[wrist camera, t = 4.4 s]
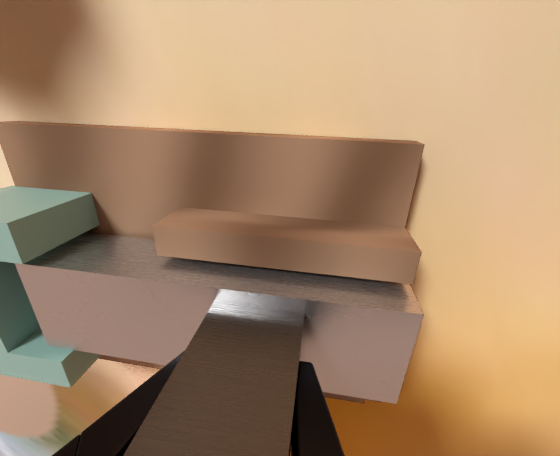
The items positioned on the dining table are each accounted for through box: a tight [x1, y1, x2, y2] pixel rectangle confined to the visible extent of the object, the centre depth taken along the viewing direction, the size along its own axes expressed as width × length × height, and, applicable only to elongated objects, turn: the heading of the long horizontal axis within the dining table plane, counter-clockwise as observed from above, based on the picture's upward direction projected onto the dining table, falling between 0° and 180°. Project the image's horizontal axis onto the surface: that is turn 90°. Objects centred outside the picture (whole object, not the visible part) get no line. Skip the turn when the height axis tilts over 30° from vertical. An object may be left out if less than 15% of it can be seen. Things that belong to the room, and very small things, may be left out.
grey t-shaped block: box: [15, 232, 424, 456], centre depth 9 cm, size 14×4×8 cm, turn 88°
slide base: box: [0, 121, 424, 403], centre depth 12 cm, size 17×13×3 cm
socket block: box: [0, 186, 100, 388], centre depth 12 cm, size 4×8×4 cm, turn 178°
